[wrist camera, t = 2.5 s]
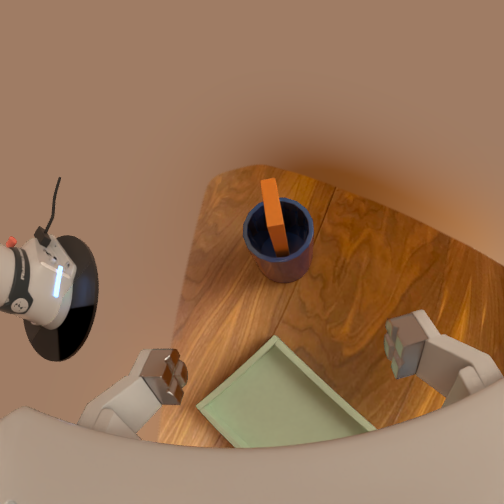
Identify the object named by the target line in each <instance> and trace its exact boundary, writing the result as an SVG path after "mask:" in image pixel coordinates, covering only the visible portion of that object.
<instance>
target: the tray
mask: <svg viewBox="0 0 504 504" xmlns="http://www.w3.org/2000/svg"><path fill="white" fill-rule="evenodd" d="M196 407H197V409H198V410H200V412H201V413H202V414H203V415H204V416H205V417H206V419H207V420H208V421H209V422H210V423H211V424H212V425H213V426H214V427H215V428H216V429H217V430H218V431H219V432H220V433H221V434H222V435H223V436H224V437H225V438H226V439H227V440H228V441H229V442H230V443H231V444H232V445H233V446H234V447H235V448H257V447H275V446H287V445H296V444H305V443H313V442H319V441H326V440H332V439H337V438H342V437H347V436H352V435H357V434H361V433H365V432H370V431H373V430H377V429H376V428H375V427H374V426H373V425H372V424H371V423H370V422H368V421H367V420H366V419H365V418H364V417H363V416H362V415H360V414H359V413H358V412H357V411H356V410H355V409H354V408H353V407H351V406H350V405H349V404H348V403H347V402H346V401H345V400H344V399H343V398H341V397H340V396H339V395H338V394H337V393H336V392H335V391H334V390H333V389H332V388H331V387H330V386H328V385H327V384H326V383H325V382H324V381H323V380H322V379H321V378H320V377H319V376H318V375H317V374H316V373H315V372H313V371H312V370H311V369H310V368H309V367H308V366H307V365H306V364H305V363H304V362H303V361H302V360H301V359H300V358H299V357H298V356H297V355H296V354H295V353H294V352H293V351H292V350H291V349H290V348H288V347H287V346H286V345H285V344H284V343H283V342H282V341H281V340H280V339H279V338H278V337H277V336H275V335H274V336H273V337H271V338H270V339H269V340H268V341H267V342H266V343H265V344H264V345H263V346H262V347H261V348H260V349H259V350H258V351H257V352H256V353H255V354H254V355H253V356H252V357H250V358H249V359H248V360H247V361H246V362H245V363H244V364H243V365H242V366H241V367H240V368H238V369H237V370H236V371H235V372H234V373H233V374H232V375H231V376H230V377H228V378H227V379H226V380H225V381H224V382H223V383H222V384H220V385H219V386H218V387H217V388H216V389H215V390H214V391H212V392H211V393H210V394H209V395H208V396H206V397H205V398H204V399H203V400H202V401H201V402H199V403H198V404H197V405H196Z"/></svg>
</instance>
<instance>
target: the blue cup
mask: <svg viewBox="0 0 504 504" xmlns="http://www.w3.org/2000/svg"><path fill="white" fill-rule="evenodd" d="M279 200H280V205H281V210H282V215H283V221H284V226H285V231H286V237H287V243H288V249H289V256H286V257H276V253H275V250H274V247H273V244H272V241H271V238H270V235H269V231H268V228H267V224H266V217H265V210H264V203H263V202H261V203H259V204H257V205H256V206H255V207H254V208H253V209H252V210H251V211H250V212H249V213H248V216H247V218H246V220H245V222H244V224H243V238H244V240H245V243H246V245H247V248H248V250H249V251H250V253H251V255H252V257H253V258H254V260H255V262H256V264H257V265H258V267H259V269H260V271H261V272H262V273H263V274H264V275H265V276H266V277H267V278H269V279H270V280H272V281H275V282H279V283H289V282H293V281H296V280H298V279H299V278H301V277H302V276H303V275H304V274H305V273H306V272H307V271H308V269H309V267H310V265H311V261H312V256H313V239H314V228H313V220H312V218H311V216H310V214H309V212H308V210H307V209H306V208H305V207H303V206H302V205H301V204H299V203H298V202H297V201H294V200H291V199H287V198H279Z"/></svg>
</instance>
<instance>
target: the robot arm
mask: <svg viewBox="0 0 504 504" xmlns="http://www.w3.org/2000/svg"><path fill="white" fill-rule="evenodd" d="M60 180H61V177H59V179H58V182H57V185H56V188H55V192H54V196H53V205H52V215H51V219H50V221H49V223H48V225H47V227H46V229H43V228H41V227H40V226H39V227H38V229H37V230H36V232H35V234H34V236H35V238H32V239H30V240H28V241H27V242H26V243H25V244H24V245H23V246H22V247H21V248H16V247H14V246H15V244H16V243H17V241H16V239H15V238H14V237H12V236H10V237H9V240H8V241H7V242H6V245H7V247H6V246H4V245H2V244H0V311H2V312H6V313H10V314H14V315H16V316H18V317H21V318H23V319H25V320H28V321H30V322H31V323H32V324H33V325H36V326H39V325H40V326H42V327H44V328H46V329H49V330H53V329H56V328H57V327H59V326H60V325H61V324H62V323H63V321H64V320H65V318H66V316H67V314H68V312H69V309H70V305H71V301H72V293H73V280H74V277H75V274H76V269H77V268H76V265H75V263H74V262H73V261H72V259H71V258H70V257H69V255H68V254H67V253H66V251H65V250H64V249H63V247H62V246H61V244H60V243H59V242H58V240H57V239H56V237H55V236H54V235H52V234H50V235H48V234H47V232H48V229H49V227H50V225H51V223H52V221H53V218H54V213H55V200H56V194H57V190H58V187H59V183H60ZM385 327H386V329H387V331H388V332H387V333H386V334H385V336H384V349H385V353H386V356H387V358H388V359H389V360H391V361H392V364H391V368H392V370H393V373H394V375H395V378H396V379H399V378H403V377H407V376H410V375H414V374H416V375H417V376H418V377H419V378H421V379H422V380H423V381H425V382H426V383H427V384H429V385H430V386H431V387H433V388H434V389H435V390H437V391H438V392H439V393H441V394H442V395H443V396H445V397H446V400H445V402H444V404H443V405H442V407H441V408H440V409H438V410H435V411H433V412H430V413H427V414H425V415H422V416H419V417H416V418H414V419H411V420H408V421H405V422H401V423H398V424H395V425H392V426H388V427H385V428H381V429H377V430H373V431H370V432H365V433H361V434H357V435H352V436H347V437H342V438H337V439H332V440H326V441H319V442H313V443H305V444H296V445H287V446H275V447H257V448H212V447H194V446H182V445H173V444H164V443H157V442H150V441H144V440H142V439H141V438H140V437H139V436H138V435H137V434H136V433H137V432H138V431H139V430H140V428H141V427H142V426H143V425H144V424H145V423H146V422H147V421H148V420H149V419H150V418H151V417H152V416H153V415H154V414H155V413H156V412H157V411H158V410H159V409H160V407H161V406H162V405H180V404H181V401H182V397H183V394H184V392H183V390H182V388H183V387H184V386H185V385H186V384H187V380H188V371H187V367H186V365H185V363H184V362H182V361H181V360H179V358H180V354H179V352H178V351H177V349H143V350H141V352H140V354H139V356H138V358H137V359H136V361H135V363H134V365H133V367H132V369H131V371H130V373H129V375H128V376H125V377H123V378H122V379H121V380H119V381H118V382H117V383H115V384H114V385H112V386H111V387H110V388H108V389H107V390H106V391H104V392H103V393H101V394H100V395H99V396H97V397H96V398H95V399H93V400H92V401H90V402H89V403H88V404H87V405H86V407H85V409H84V411H83V413H82V415H81V417H80V419H79V421H78V423H77V425H76V424H73V423H70V422H67V421H64V420H61V419H58V418H56V417H53V416H50V415H47V414H45V413H42V412H40V411H37V410H35V409H32V408H30V407H27V406H23V407H20V408H18V409H16V410H14V411H12V412H11V413H9V414H8V415H6V416H5V417H3V418H1V419H0V504H504V377H503V375H502V374H501V372H500V371H499V369H498V368H497V366H496V364H495V363H494V361H493V360H492V358H491V357H490V355H488V354H486V353H483V352H481V351H479V350H477V349H475V348H473V347H471V346H468V345H466V344H464V343H462V342H460V341H458V340H455V339H453V338H451V337H449V336H447V335H445V334H443V335H440V333H439V332H438V330H437V329H436V327H435V326H434V324H433V323H432V321H431V320H430V319H429V317H428V316H427V314H426V313H425V311H424V310H422V309H421V310H417V311H414V312H411V313H408V314H404V315H400V316H396V317H392V318H388V319H387V321H386V326H385Z"/></svg>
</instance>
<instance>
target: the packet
mask: <svg viewBox="0 0 504 504" xmlns="http://www.w3.org/2000/svg"><path fill="white" fill-rule="evenodd" d="M260 184H261V190H262V197H263V203H264V210H265V217H266V224H267V228H268V231H269V235H270V238H271V241H272V244H273V247H274V250H275V253H276V257H286V256H289V249H288V243H287V237H286V231H285V226H284V221H283V215H282V210H281V205H280V200H279V194H278V189H277V184H276V179H275V178H271V179H265V180H260Z"/></svg>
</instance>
